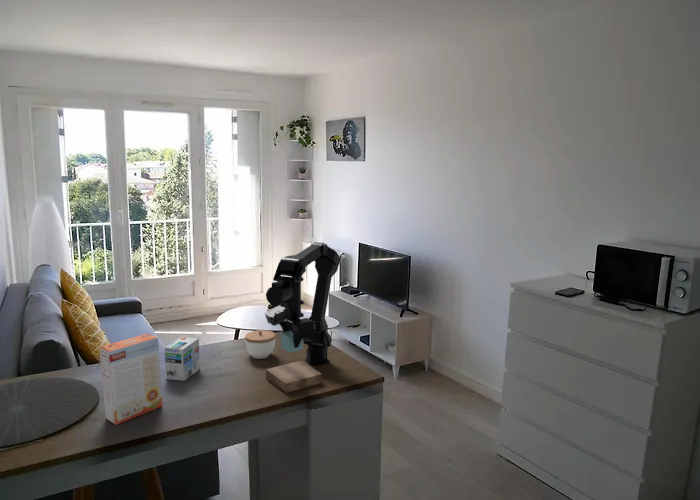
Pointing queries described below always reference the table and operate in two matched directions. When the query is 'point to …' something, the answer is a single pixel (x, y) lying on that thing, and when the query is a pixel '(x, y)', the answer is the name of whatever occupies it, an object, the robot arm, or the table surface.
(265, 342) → the lidded jar
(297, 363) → the plinth
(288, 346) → the block
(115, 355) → the cracker box
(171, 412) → the table surface
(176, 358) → the light bulb box
